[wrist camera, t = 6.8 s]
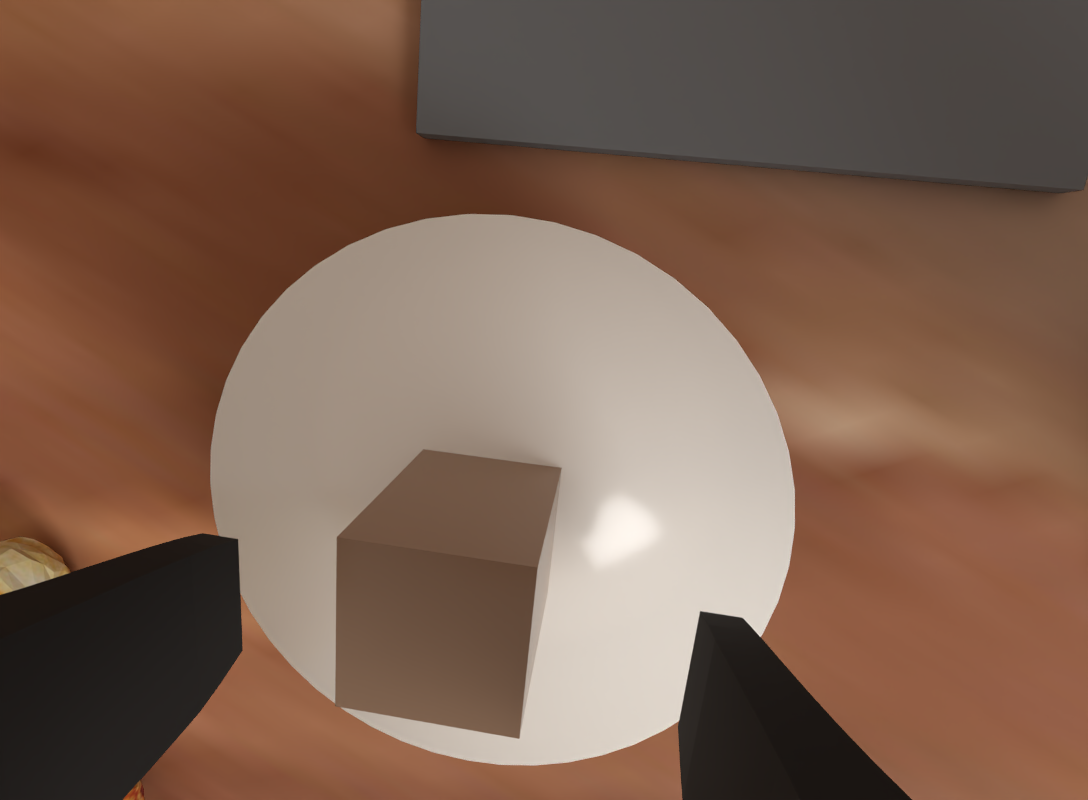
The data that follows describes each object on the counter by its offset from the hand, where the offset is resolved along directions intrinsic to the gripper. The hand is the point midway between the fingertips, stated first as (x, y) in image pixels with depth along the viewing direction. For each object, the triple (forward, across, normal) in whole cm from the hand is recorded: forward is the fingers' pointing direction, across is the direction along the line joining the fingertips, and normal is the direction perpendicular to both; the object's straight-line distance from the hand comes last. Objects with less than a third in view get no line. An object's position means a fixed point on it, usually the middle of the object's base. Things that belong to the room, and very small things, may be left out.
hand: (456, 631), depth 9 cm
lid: (+3, 0, -1) cm, 3 cm away
